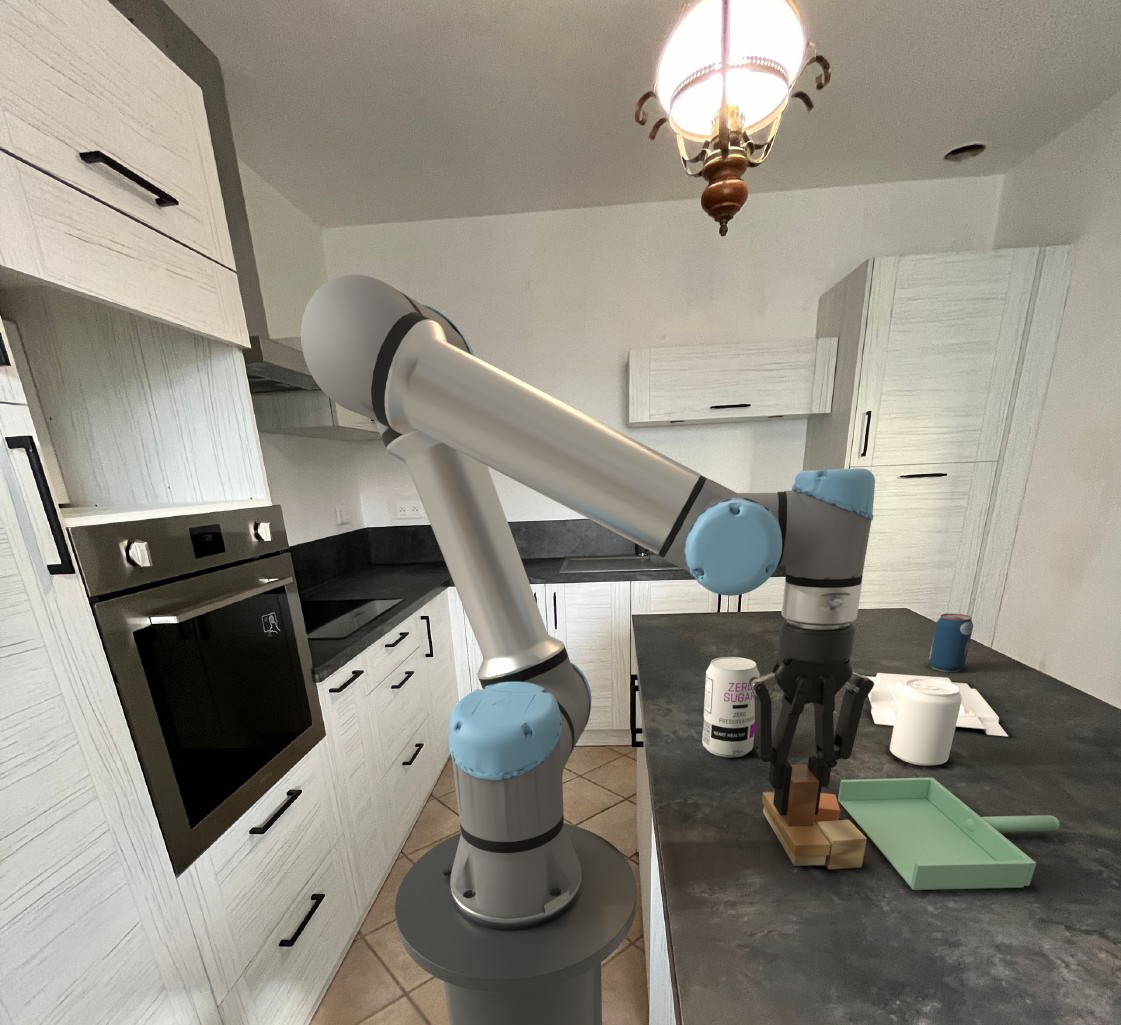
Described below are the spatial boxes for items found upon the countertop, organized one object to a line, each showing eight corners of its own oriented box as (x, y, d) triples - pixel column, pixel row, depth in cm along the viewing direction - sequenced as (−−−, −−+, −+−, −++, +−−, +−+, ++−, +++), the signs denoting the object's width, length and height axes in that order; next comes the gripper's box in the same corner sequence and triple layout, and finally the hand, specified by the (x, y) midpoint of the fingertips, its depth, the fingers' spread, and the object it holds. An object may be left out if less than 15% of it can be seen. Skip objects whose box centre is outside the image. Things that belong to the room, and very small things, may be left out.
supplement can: (724, 734, 104) (730, 652, 99) (763, 750, 98) (771, 664, 92) (691, 746, 100) (696, 662, 95) (730, 763, 94) (736, 674, 88)
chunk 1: (802, 833, 75) (805, 806, 74) (799, 817, 79) (802, 791, 77) (836, 837, 74) (840, 810, 73) (831, 820, 78) (835, 794, 76)
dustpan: (913, 890, 65) (918, 865, 63) (837, 799, 82) (840, 779, 81) (1122, 885, 64) (1131, 860, 63) (1000, 795, 82) (1006, 775, 81)
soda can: (970, 672, 130) (982, 619, 125) (938, 673, 130) (948, 620, 126) (952, 663, 136) (963, 612, 132) (921, 664, 137) (931, 613, 132)
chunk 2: (828, 869, 68) (832, 840, 67) (812, 849, 72) (816, 821, 71) (861, 867, 68) (867, 838, 67) (844, 847, 72) (848, 819, 71)
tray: (966, 683, 124) (970, 666, 122) (1008, 742, 100) (1013, 722, 98) (858, 675, 130) (861, 660, 129) (873, 729, 106) (877, 710, 105)
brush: (792, 867, 68) (801, 799, 65) (760, 811, 79) (766, 751, 76) (827, 866, 68) (837, 798, 65) (790, 810, 79) (798, 750, 76)
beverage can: (944, 773, 88) (961, 699, 84) (884, 760, 93) (897, 688, 89) (950, 753, 94) (966, 683, 90) (893, 741, 99) (906, 674, 95)
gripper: (753, 632, 60) (737, 828, 69) (912, 627, 60) (876, 824, 68) (734, 616, 67) (721, 795, 76) (875, 611, 67) (847, 792, 75)
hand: (795, 808), depth 72 cm, fingers closed on brush, 3 cm apart
